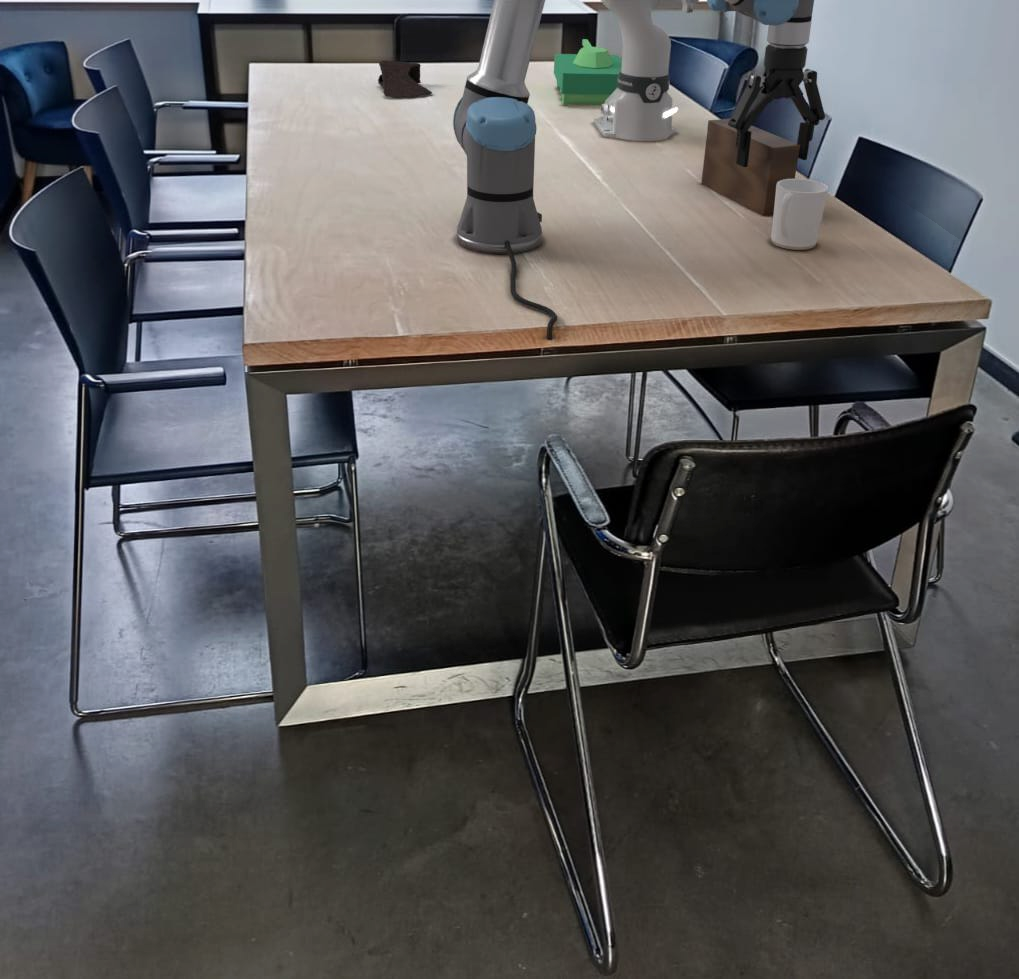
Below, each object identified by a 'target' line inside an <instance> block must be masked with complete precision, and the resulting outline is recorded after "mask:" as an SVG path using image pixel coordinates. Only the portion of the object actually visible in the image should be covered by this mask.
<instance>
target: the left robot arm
mask: <svg viewBox="0 0 1019 979" xmlns="http://www.w3.org/2000/svg"><path fill="white" fill-rule="evenodd" d="M706 2H707V5H708V7H709V9H710V10H712V11H713V12H723V13H727V12H736V13H738V14H741V15H743V16H745V17H750V18H751V19H753V20H756V21H757V22H759V23H761V24H762V25H764V26H767V27H768V28H767V35H766V42H767V43H768V44H766V46H765V49H764V58H763V66H764V71H763V74H762V75H758V74H754V73H750V74H749V75H748V77H747V81H746V86H745V88H744V90H743V92H742V94H741V96H740V98H739V100H738V102H737V104H736V106H735V109H734V110H733V112H732V114H731V116H730V118H729V119H730V120H729V122H728V125H729V126H730V127H733V128H735V129H736V130H737V134H736V143H735V145H736V147H737V148H738V152H737V161H736V164H738V165H740V166H742V167H747V166H748V158H749V149H750V141H751V133H752V132H751V131H748V129H749V128H750V127H751V125H752V126H753V124H754V123H755V122H756V120H757V119H758V118H759V116H760V115H761V114H762V112H763V111H764V110H765V108H766V107H767V106H768V105H769V103H772V102H773V100H781V99H783V98H784V99H791V101H792V102H793V104H794V106H795V108H796V109H797V111H798V112H799V115H800V116H801V118H802V119H803V122H799V127H798V134H797V142H796V144H798V145H800V149H799V155H798V159H800V160H802V161H807V160H808V154H809V147H810V142H812V140H813V138H814V132H815V131H814V130H815V126H818V125H819V124H820V121H824V120H825V119H826V113H825V109H824V106H823V102H822V98H821V95H820V94H821V93H820V90H819V86H818V72H817V70H813V69H810V68H806V69H804V68H805V67H806V63H807V56H808V48H807V45H808V44H809V43H810V36H811V28H812V19H813V12H814V11H813V10H814V5H815V4H814V3H815V0H706ZM545 3H546V0H493V3H492V7H491V11H490V16H489V21H488V24H487V28H486V33H485V37H484V42H483V46H482V49H481V53H480V54H481V55H480V58H479V63H478V66H477V68H476V70H475V71H473V72H471V73H470V74H468V75H467V76H466V80H465V85H464V89H463V93H462V96H461V98H460V99H459V101H458V102H457V104H456V107H455V109H454V112H453V119H452V125H453V126H452V127H453V133H454V135H455V139H456V141H457V143H458V144H459V145H460V147H461V149H462V150H463V152H464V153H465V155H466V192H467V193H466V198H465V202H464V205H463V209H462V211H461V214H460V218H459V220H458V224H457V228H456V241H457V243H458V244H459V245H461V246H462V247H464V248H466V249H468V250H470V251H475V252H479V253H486V254H497V255H499V254H500V255H506V254H507V255H508V258H509V262H510V265H511V272H510V276H509V282H510V283H509V290H510V294H511V296H512V297H513V298H514V300H516V301H517V302H519V303H520V304H522V305H524V306H527V307H530V308H533V309H536V310H539V311H541V312H544V313H545V314H547V315H549V316H550V320H549V321H548V323H547V327H546V340H547V341H552V340H553V328H554V325H555V323H556V322H557V321H558V315H557V314H556V312H555V311H554V310H552V308H549V307H548V306H545V305H543V304H540V303H537V302H534V301H531V300H528V299H526V298H524V297H522V296H521V295H519V294H518V293H517V290H516V275H517V262H516V259H515V255H514V254H517V253H524V252H527V251H530V250H533V249H536V248H538V247H539V246H540V245H541V244H542V243H543V229H542V224H541V223H542V222H543V214H542V213H540V212H538V210H537V206H536V204H535V199H534V184H535V181H534V180H535V157H536V156H535V154H536V152H535V151H536V135H537V123H536V114H535V111H534V109H533V108H532V106H530V105H529V100H530V96H531V93H530V91H529V89H528V87H527V86H526V82H525V80H526V78H527V73H528V69H529V66H530V61H531V58H532V53H533V51H534V50H533V49H534V46H535V42H536V38H537V34H538V30H539V26H540V22H541V18H542V15H543V11H544V6H545ZM802 82H803V86H804V90H805V94H806V98H807V100H806V98H805V96H804V92H803V90H802V89H801V87H800V85H801V84H802ZM807 101H808V102H807Z"/></svg>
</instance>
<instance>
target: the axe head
mask: <svg viewBox="0 0 1019 979" xmlns="http://www.w3.org/2000/svg"><path fill="white" fill-rule="evenodd" d="M378 66H379V68H380V72H381V74H379V75H378V79H377V84H378V85H379V86H380V87H381V88H382V89H383V95H384V96H385V97H388V98H394V99H395V98H396V99H403V98H405V99H406V98H407V99H411V98H418V97H425V96H429V95H432V94H433V91H431V90H430V89H428V88H427V87H425V86H422V85H421V84H422V82H421V63H419V62H410V61H408V62H407V61H397V60H388V59H387V60H380V61H379V62H378Z"/></svg>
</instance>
